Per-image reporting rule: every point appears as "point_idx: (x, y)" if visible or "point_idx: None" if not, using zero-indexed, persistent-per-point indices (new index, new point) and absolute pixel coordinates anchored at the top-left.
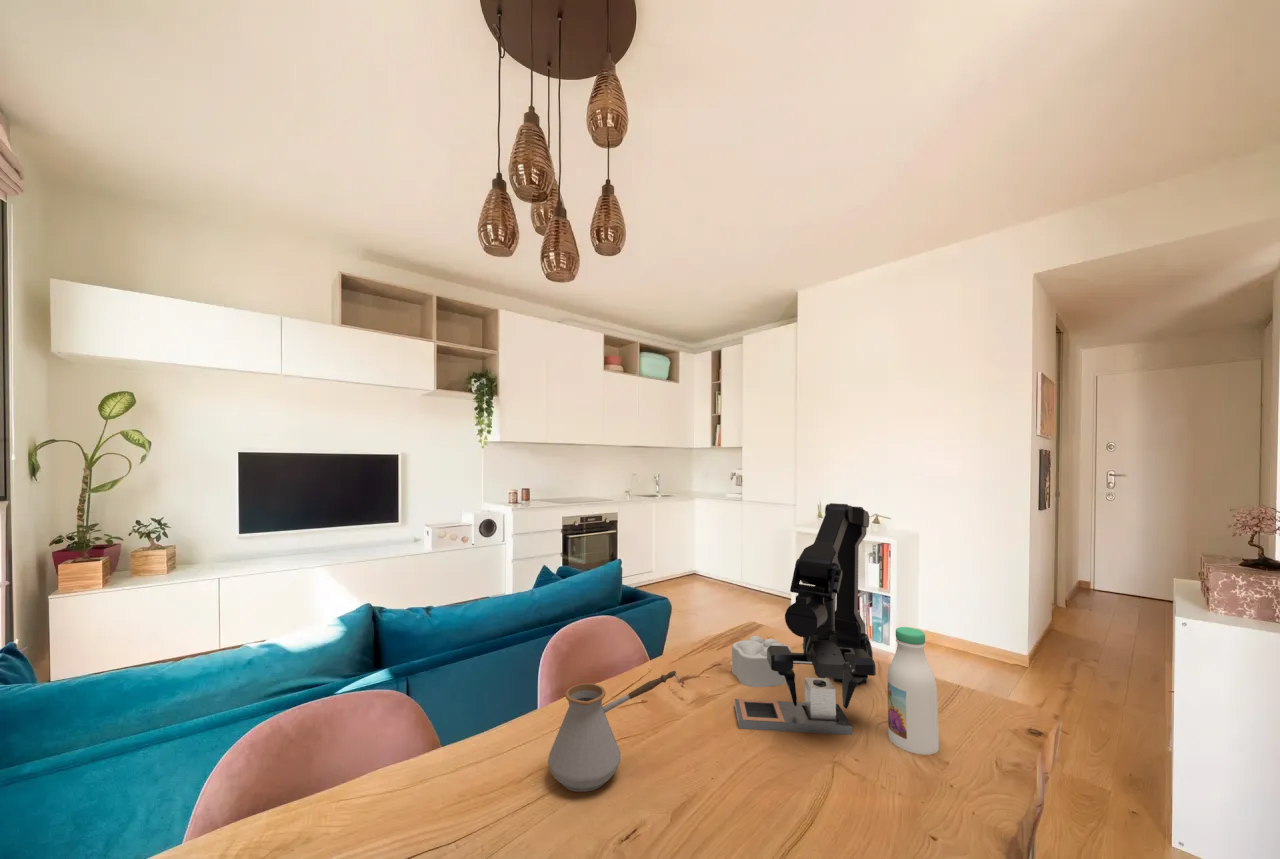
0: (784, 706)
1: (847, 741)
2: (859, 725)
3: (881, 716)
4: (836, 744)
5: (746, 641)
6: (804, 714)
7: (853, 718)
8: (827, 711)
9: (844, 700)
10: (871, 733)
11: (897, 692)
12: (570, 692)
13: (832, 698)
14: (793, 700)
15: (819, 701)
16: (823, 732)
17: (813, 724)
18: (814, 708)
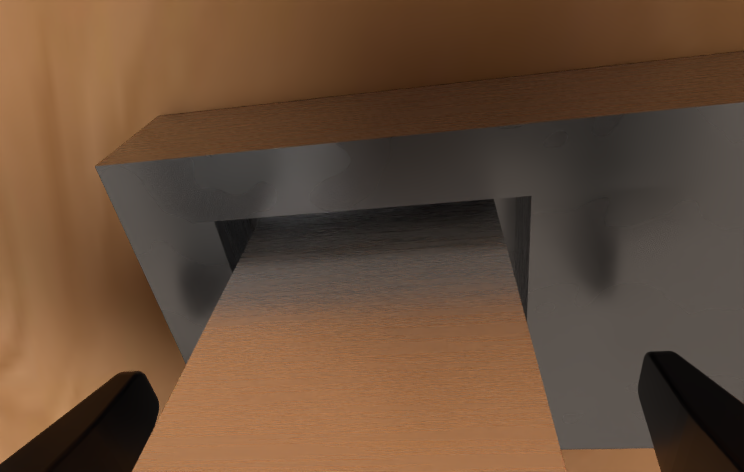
0: None
1: (195, 97)
2: (123, 316)
3: (16, 412)
4: (288, 23)
5: None
6: (543, 291)
7: (164, 378)
8: (314, 288)
9: (109, 443)
10: (38, 241)
11: None
12: None
13: (203, 419)
14: (729, 393)
15: (403, 368)
16: (390, 108)
17: (499, 121)
18: (468, 299)
